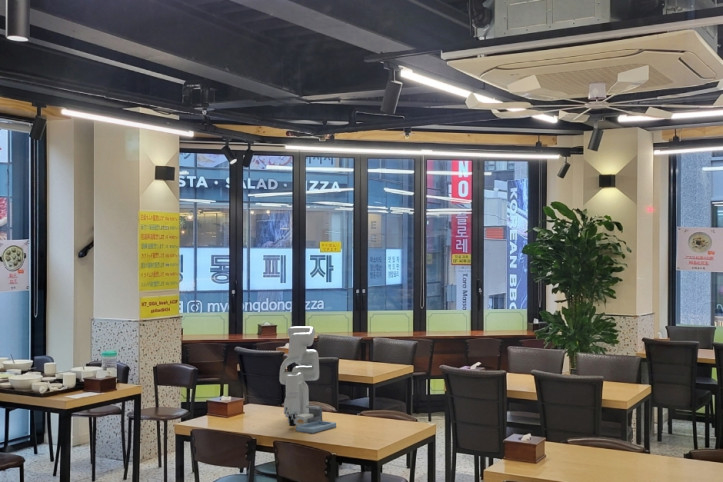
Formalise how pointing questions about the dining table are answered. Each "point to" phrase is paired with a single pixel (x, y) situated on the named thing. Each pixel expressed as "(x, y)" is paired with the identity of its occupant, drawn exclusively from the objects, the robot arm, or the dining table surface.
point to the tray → (315, 426)
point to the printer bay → (315, 413)
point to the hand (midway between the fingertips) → (292, 425)
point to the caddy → (302, 419)
